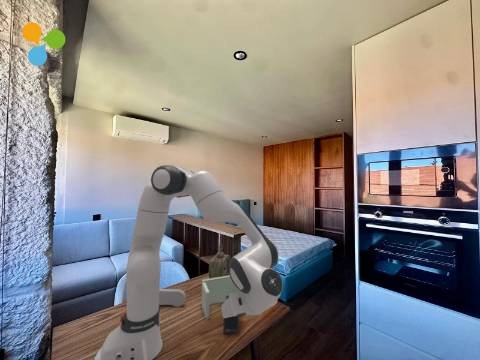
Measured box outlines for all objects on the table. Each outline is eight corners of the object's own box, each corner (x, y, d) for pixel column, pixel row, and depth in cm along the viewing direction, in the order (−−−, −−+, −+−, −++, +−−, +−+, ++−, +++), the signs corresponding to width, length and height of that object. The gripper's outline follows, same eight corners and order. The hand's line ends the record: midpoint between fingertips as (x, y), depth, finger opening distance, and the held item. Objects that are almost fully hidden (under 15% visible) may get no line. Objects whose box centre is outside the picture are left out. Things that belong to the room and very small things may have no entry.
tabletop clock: (222, 292, 117) (222, 249, 118) (207, 289, 120) (208, 247, 120) (230, 280, 131) (230, 241, 132) (217, 278, 134) (217, 240, 134)
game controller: (186, 304, 105) (186, 288, 106) (184, 307, 103) (185, 290, 103) (148, 303, 106) (149, 287, 106) (146, 306, 103) (147, 290, 103)
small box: (238, 334, 85) (239, 309, 85) (223, 334, 85) (223, 309, 85) (239, 317, 96) (239, 295, 96) (225, 317, 96) (225, 295, 96)
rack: (205, 318, 95) (206, 291, 95) (201, 304, 105) (201, 279, 106) (245, 309, 102) (245, 283, 102) (237, 297, 113) (237, 274, 113)
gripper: (278, 283, 74) (265, 296, 83) (224, 294, 67) (217, 307, 76) (285, 303, 70) (271, 314, 79) (228, 316, 63) (220, 327, 72)
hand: (244, 310), depth 77 cm, fingers closed
